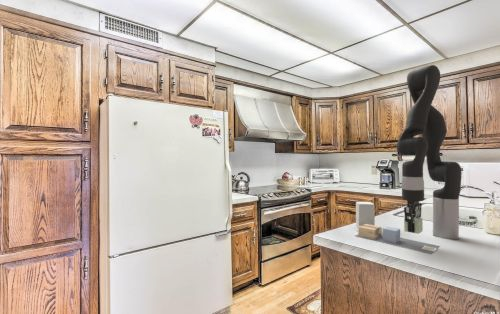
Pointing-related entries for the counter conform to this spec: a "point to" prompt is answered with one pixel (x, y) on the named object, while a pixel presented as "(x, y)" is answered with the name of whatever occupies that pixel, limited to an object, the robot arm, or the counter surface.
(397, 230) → the blue block
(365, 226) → the maple base
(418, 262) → the counter surface
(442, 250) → the counter surface
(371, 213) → the supplement box
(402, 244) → the mat
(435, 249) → the card
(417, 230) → the sage block
